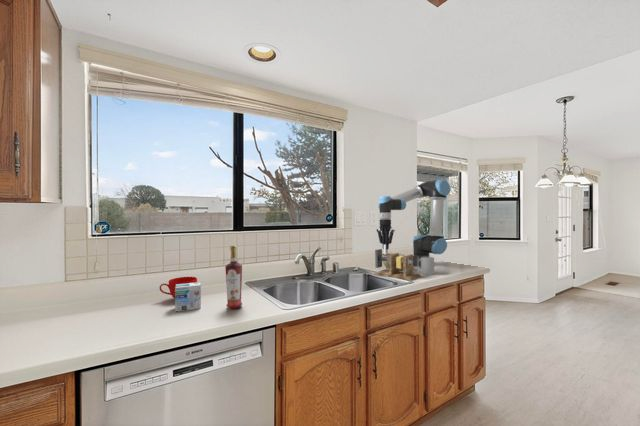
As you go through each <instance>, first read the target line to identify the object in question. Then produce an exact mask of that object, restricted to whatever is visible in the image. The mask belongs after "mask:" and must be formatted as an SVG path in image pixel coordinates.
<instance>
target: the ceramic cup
mask: <svg viewBox="0 0 640 426" xmlns="http://www.w3.org/2000/svg"><path fill="white" fill-rule="evenodd" d="M196 282H198V278H197V277H196V276H181V277H175V278H171V279H169V280H168V283H161V284H160V285H159V291H160V292H161V293H162V294H166V295H171V296H172V298H173V299H174V300H175V287H176V284H186V283H196ZM162 286H165V287H166V286H167V287H168V289H169V292H166V291H164V290H163V288H162Z"/></svg>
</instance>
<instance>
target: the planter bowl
mask: <svg viewBox="0 0 640 426" xmlns="http://www.w3.org/2000/svg"><path fill="white" fill-rule="evenodd" d="M391 254H395V253H392V252H391V253H389V252H388V254H384V253H382V257H388V258H389V255H391ZM399 256H406V255H405V254H402V253H399ZM394 258H395V257H394ZM394 263H395V262H394ZM382 265H384V267H385V269H387V270H389V261H382ZM400 270H401V269H400V268H399V271H400Z"/></svg>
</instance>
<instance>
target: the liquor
mask: <svg viewBox="0 0 640 426" xmlns="http://www.w3.org/2000/svg"><path fill="white" fill-rule="evenodd" d="M237 248H238V246H237V245H235V244H233V245H230V248H229V249H230V260H229V261H230V262H229V263H228V264H226V265H225V283H226V297H227V302H226V303H227V304H226V307H227V308H228V309H229V310H237V309H240V307H241V306H242V305H243V303H242V285H243V283H242V279H243V264H241V263H239V262H238V258H237Z"/></svg>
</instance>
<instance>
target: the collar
mask: <svg viewBox="0 0 640 426" xmlns="http://www.w3.org/2000/svg"><path fill="white" fill-rule="evenodd" d="M402 259H403V256H399V257H396V268H400V270H401V269H403V263H402Z"/></svg>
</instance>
